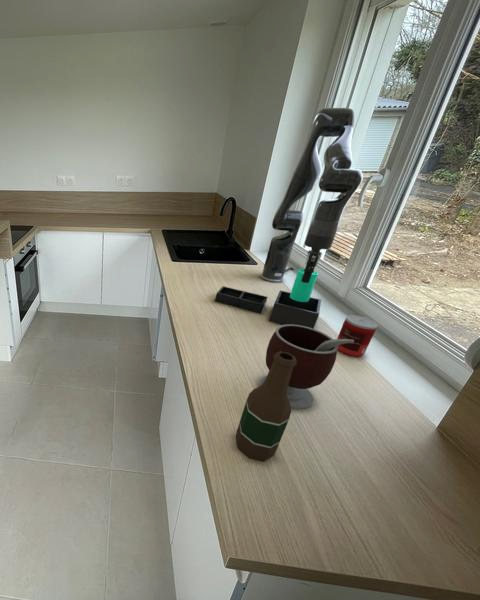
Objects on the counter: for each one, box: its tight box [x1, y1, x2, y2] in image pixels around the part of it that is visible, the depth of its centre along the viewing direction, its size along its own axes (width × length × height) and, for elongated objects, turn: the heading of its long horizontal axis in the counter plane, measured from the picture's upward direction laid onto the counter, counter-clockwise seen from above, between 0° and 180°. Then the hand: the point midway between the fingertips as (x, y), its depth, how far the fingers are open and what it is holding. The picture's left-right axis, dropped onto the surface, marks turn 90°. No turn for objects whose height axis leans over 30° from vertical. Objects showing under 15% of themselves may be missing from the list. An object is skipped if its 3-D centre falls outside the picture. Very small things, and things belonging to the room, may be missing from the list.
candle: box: [290, 268, 319, 302], centre depth 115 cm, size 6×6×12 cm
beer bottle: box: [235, 351, 297, 463], centre depth 64 cm, size 8×8×24 cm
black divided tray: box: [214, 285, 268, 315], centre depth 132 cm, size 9×18×4 cm, turn 53°
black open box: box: [268, 290, 322, 329], centre depth 120 cm, size 15×14×8 cm
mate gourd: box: [258, 324, 354, 410], centre depth 80 cm, size 16×14×20 cm
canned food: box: [336, 314, 379, 358], centre depth 101 cm, size 8×8×11 cm
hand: (305, 279), depth 114 cm, fingers closed on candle, 6 cm apart
